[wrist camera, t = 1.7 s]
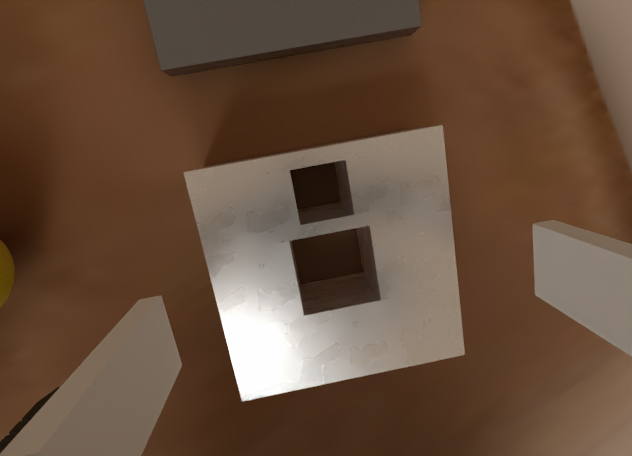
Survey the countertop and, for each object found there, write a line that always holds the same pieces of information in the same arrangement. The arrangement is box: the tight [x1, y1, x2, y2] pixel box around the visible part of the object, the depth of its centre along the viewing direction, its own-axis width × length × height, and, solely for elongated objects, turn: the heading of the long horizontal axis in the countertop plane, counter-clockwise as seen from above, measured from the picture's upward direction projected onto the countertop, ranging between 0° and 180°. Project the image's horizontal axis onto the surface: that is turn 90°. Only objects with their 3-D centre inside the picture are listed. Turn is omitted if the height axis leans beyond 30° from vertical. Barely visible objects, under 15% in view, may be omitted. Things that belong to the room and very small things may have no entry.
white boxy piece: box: [183, 125, 465, 402], centre depth 19 cm, size 11×11×4 cm
